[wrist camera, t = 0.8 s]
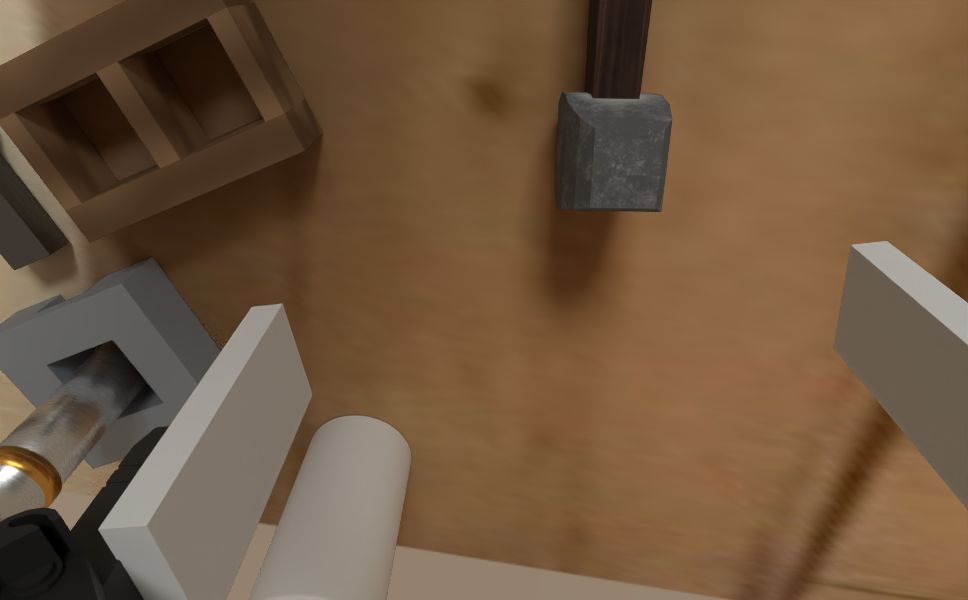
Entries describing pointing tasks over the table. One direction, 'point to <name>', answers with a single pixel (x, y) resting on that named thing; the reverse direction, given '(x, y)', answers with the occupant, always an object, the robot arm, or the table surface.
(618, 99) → the hammer
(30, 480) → the rod
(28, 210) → the dark grey t-shaped block
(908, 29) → the table surface
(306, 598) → the cup
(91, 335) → the socket block
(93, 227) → the rack
